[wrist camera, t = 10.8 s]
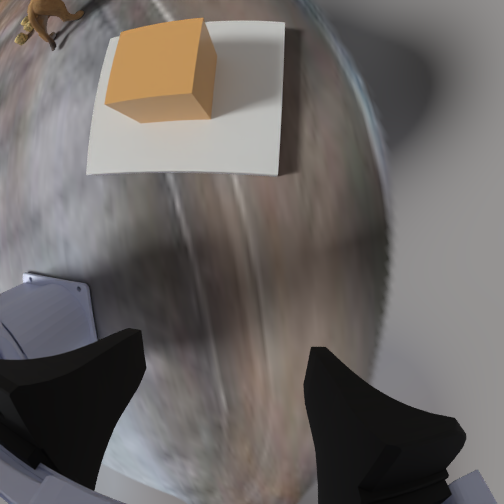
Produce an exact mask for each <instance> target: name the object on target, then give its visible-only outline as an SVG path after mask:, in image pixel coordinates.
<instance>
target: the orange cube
mask: <svg viewBox="0 0 504 504" xmlns="http://www.w3.org/2000/svg"><path fill="white" fill-rule="evenodd" d="M216 63H217V54H216V51H215V48H214V45H213V43H212V40H211V37H210V34H209V32H208V29H207V26H206V24H205V21H204V18H195V19H186V20H178V21H172V22H165V23H160V24H154V25H149V26H144V27H140V28H135V29H131V30H127V31H123V32H121V34H120V37H119V41H118V44H117V48H116V52H115V55H114V59H113V64H112V68H111V72H110V77H109V81H108V86H107V92H106V97H105V103H104V105H106V106H108V107H110V108H112V109H114V110H116V111H118V112H120V113H122V114H124V115H126V116H128V117H130V118H132V119H133V120H135V121H137V122H139V123H141V124H142V123H152V122H164V121H180V120H209V119H211V113H212V102H213V91H214V82H215V72H216Z"/></svg>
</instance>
